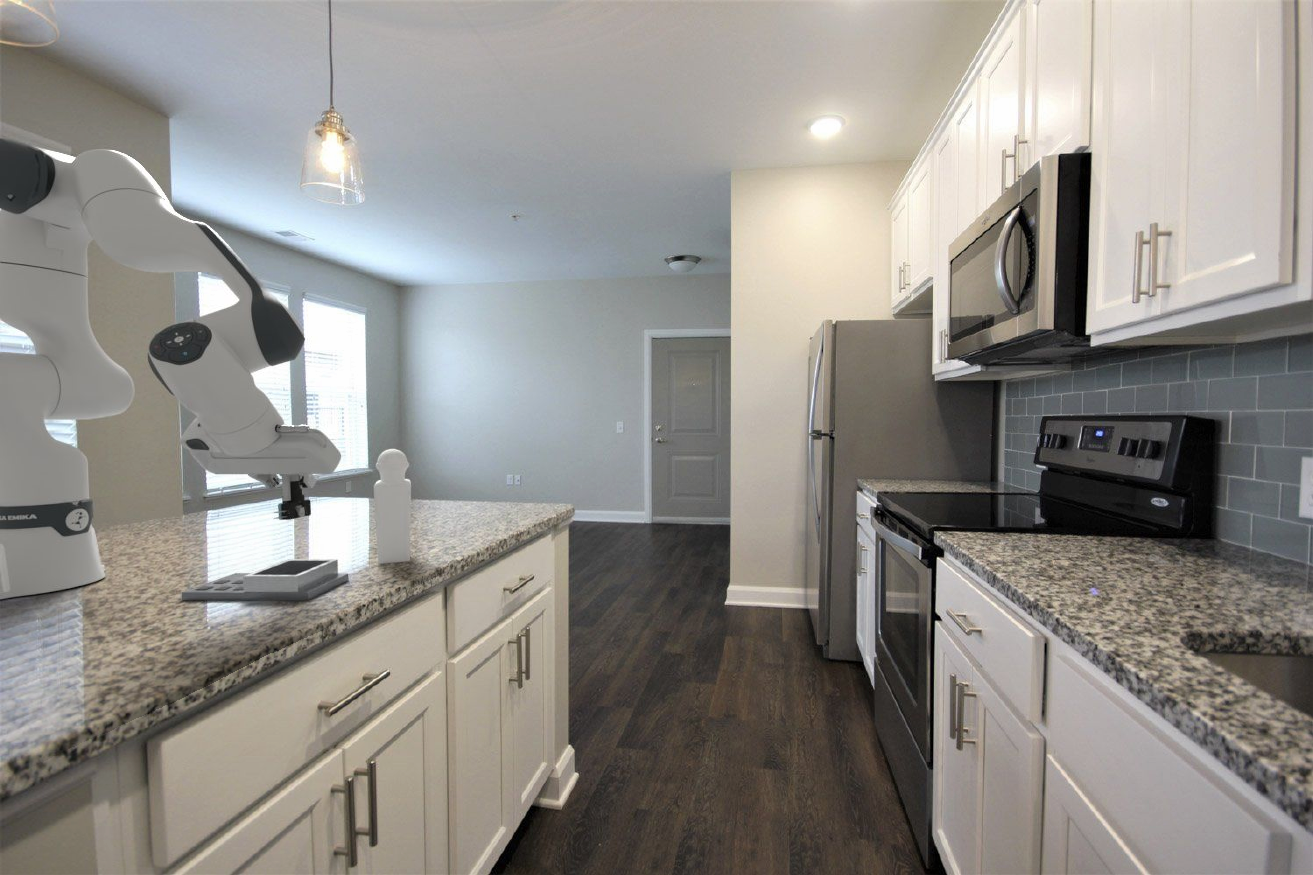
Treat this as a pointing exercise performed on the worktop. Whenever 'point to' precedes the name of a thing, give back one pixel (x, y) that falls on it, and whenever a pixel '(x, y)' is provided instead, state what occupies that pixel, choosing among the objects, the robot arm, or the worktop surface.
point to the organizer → (274, 582)
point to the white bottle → (392, 508)
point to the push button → (292, 499)
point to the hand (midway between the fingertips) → (292, 485)
